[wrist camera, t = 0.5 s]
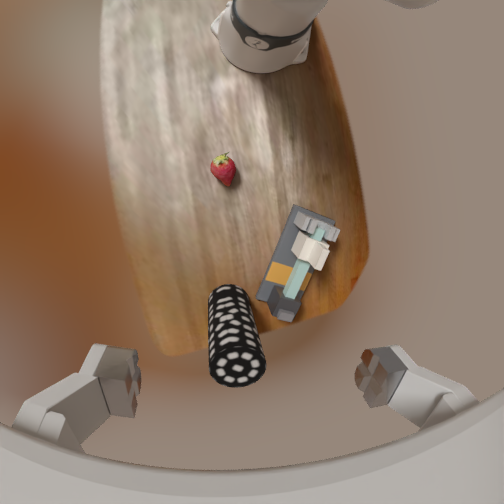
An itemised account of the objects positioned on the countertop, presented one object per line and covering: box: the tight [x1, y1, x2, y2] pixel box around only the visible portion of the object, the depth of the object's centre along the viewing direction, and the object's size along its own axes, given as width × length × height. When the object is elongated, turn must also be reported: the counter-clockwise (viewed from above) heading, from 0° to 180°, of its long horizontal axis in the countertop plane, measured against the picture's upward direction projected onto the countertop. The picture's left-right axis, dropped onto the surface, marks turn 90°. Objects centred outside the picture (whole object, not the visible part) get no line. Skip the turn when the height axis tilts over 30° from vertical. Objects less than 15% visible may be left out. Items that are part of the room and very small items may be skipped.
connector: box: [267, 285, 301, 322], centre depth 54 cm, size 4×4×7 cm
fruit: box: [211, 152, 236, 186], centre depth 46 cm, size 4×6×5 cm
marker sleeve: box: [291, 230, 330, 271], centre depth 49 cm, size 4×5×9 cm
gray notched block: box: [294, 211, 340, 242], centre depth 50 cm, size 2×7×6 cm, turn 69°
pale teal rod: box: [283, 227, 325, 299], centre depth 52 cm, size 16×2×2 cm, turn 159°
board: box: [256, 204, 335, 302], centre depth 55 cm, size 20×9×1 cm, turn 159°
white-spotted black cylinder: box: [208, 284, 266, 387], centre depth 48 cm, size 8×8×20 cm
